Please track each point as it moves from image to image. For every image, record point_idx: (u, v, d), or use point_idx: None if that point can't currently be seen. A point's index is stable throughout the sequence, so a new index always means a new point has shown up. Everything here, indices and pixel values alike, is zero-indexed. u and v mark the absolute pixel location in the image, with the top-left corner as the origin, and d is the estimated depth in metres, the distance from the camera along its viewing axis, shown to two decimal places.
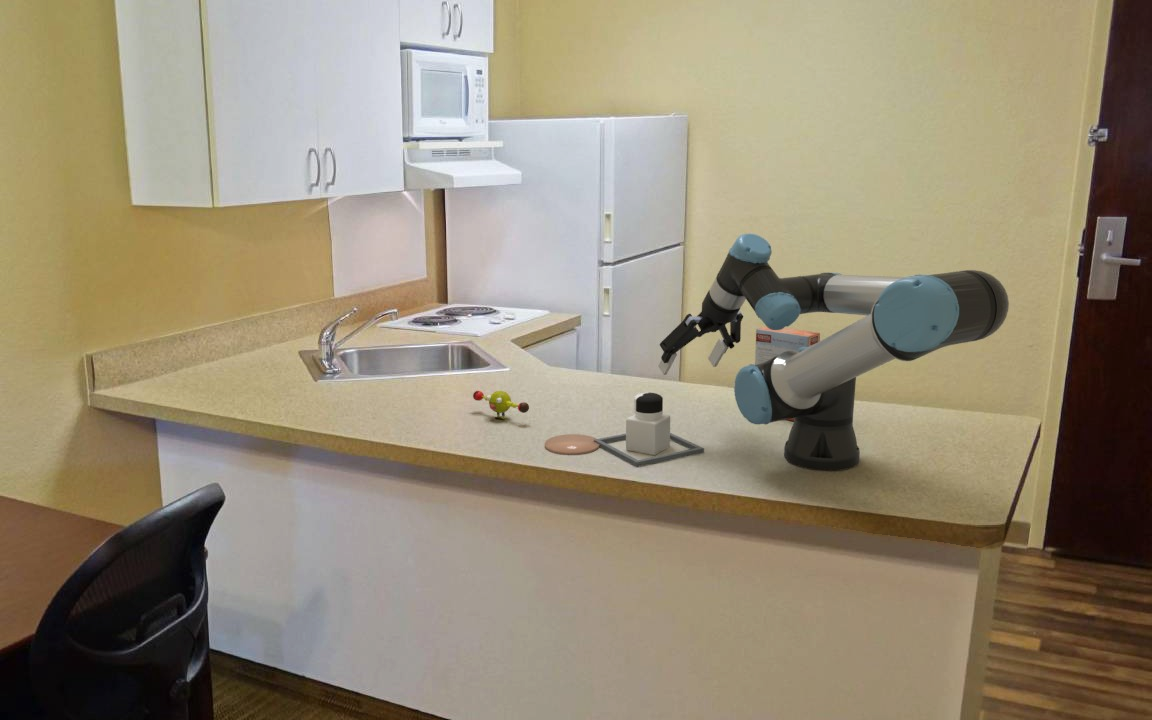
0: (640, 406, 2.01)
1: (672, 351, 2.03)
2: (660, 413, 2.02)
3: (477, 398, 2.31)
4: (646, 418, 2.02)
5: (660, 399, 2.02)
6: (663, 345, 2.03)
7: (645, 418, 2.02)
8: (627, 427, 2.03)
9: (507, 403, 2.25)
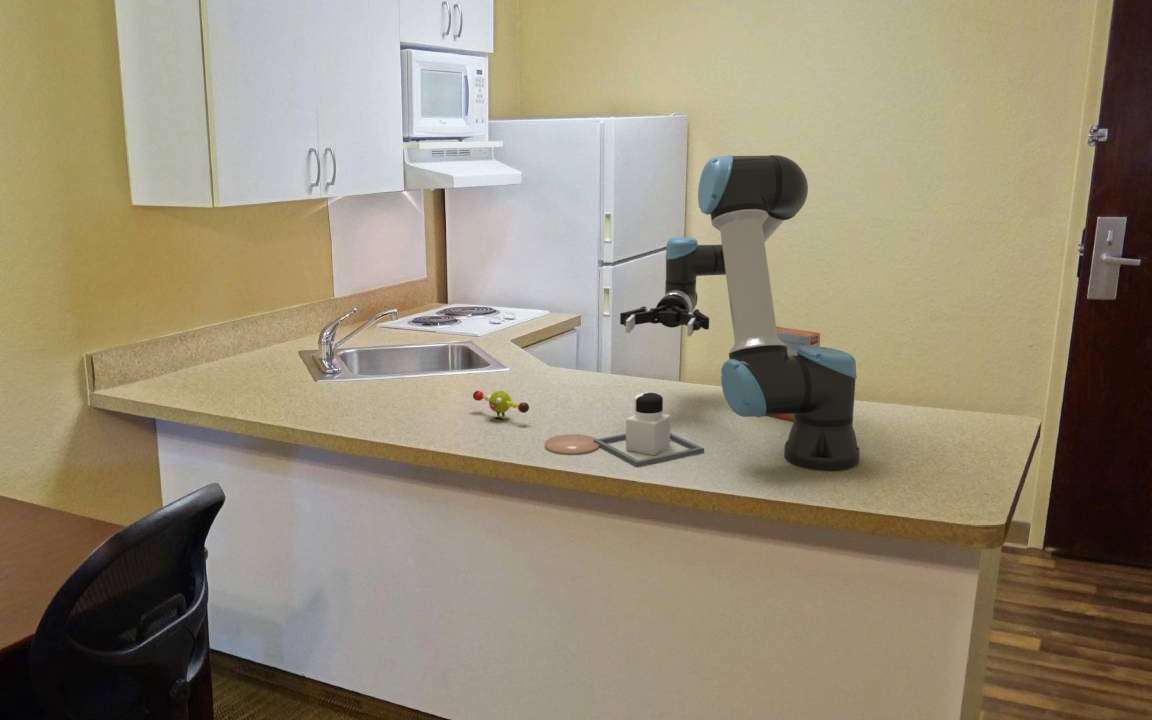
0: (640, 406, 2.01)
1: None
2: (660, 413, 2.02)
3: (477, 398, 2.31)
4: (646, 418, 2.02)
5: (660, 399, 2.02)
6: None
7: (645, 418, 2.02)
8: (627, 427, 2.03)
9: (507, 403, 2.25)
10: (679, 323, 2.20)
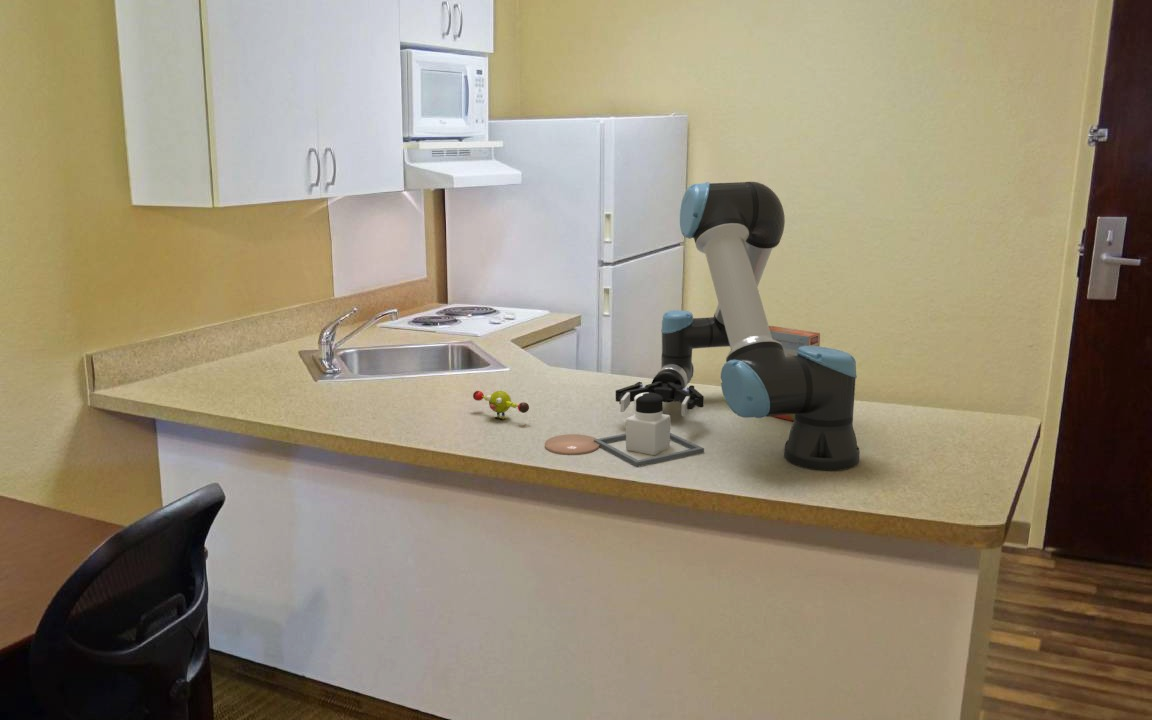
0: (640, 406, 2.01)
1: None
2: (660, 413, 2.02)
3: (477, 398, 2.31)
4: (646, 418, 2.02)
5: (660, 399, 2.02)
6: None
7: (645, 418, 2.02)
8: (627, 427, 2.03)
9: (507, 403, 2.25)
10: (674, 400, 2.21)
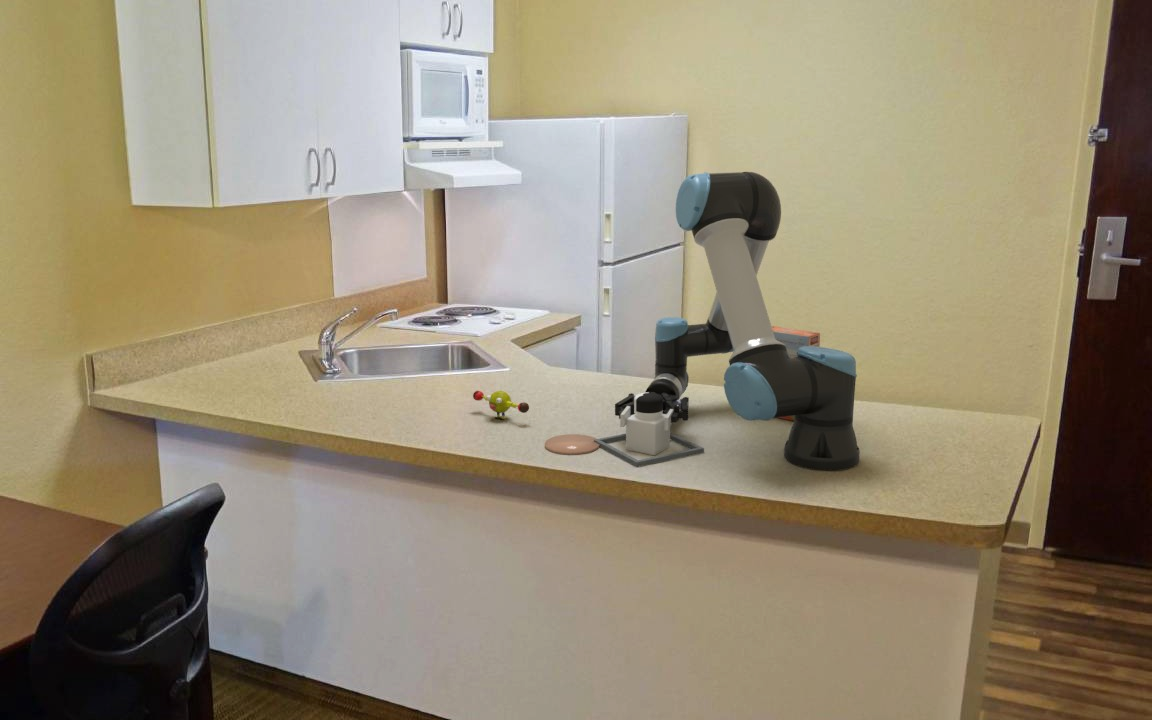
0: (640, 406, 2.01)
1: (623, 405, 2.08)
2: (660, 413, 2.02)
3: (477, 398, 2.31)
4: (646, 418, 2.02)
5: (660, 399, 2.02)
6: None
7: (645, 418, 2.02)
8: (627, 427, 2.03)
9: (507, 403, 2.25)
10: (665, 411, 2.12)
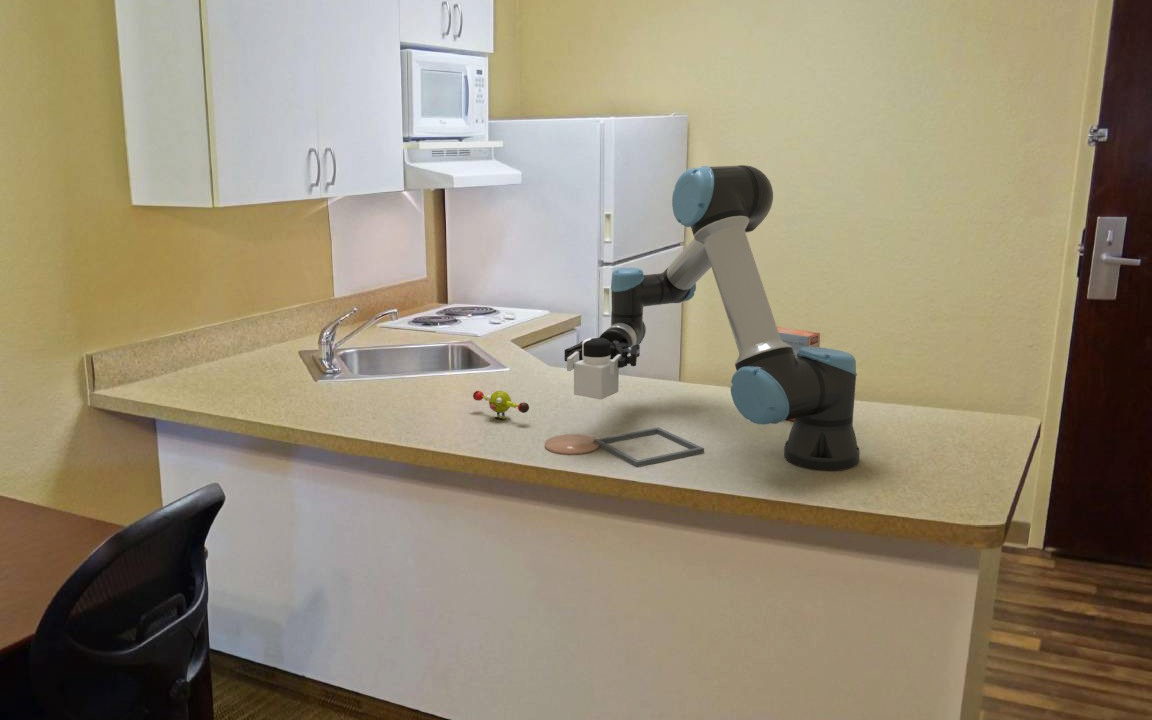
0: (587, 350, 2.02)
1: None
2: (607, 357, 2.03)
3: (477, 398, 2.31)
4: (593, 362, 2.02)
5: (607, 343, 2.02)
6: None
7: (592, 362, 2.02)
8: (575, 371, 2.04)
9: (507, 403, 2.25)
10: None
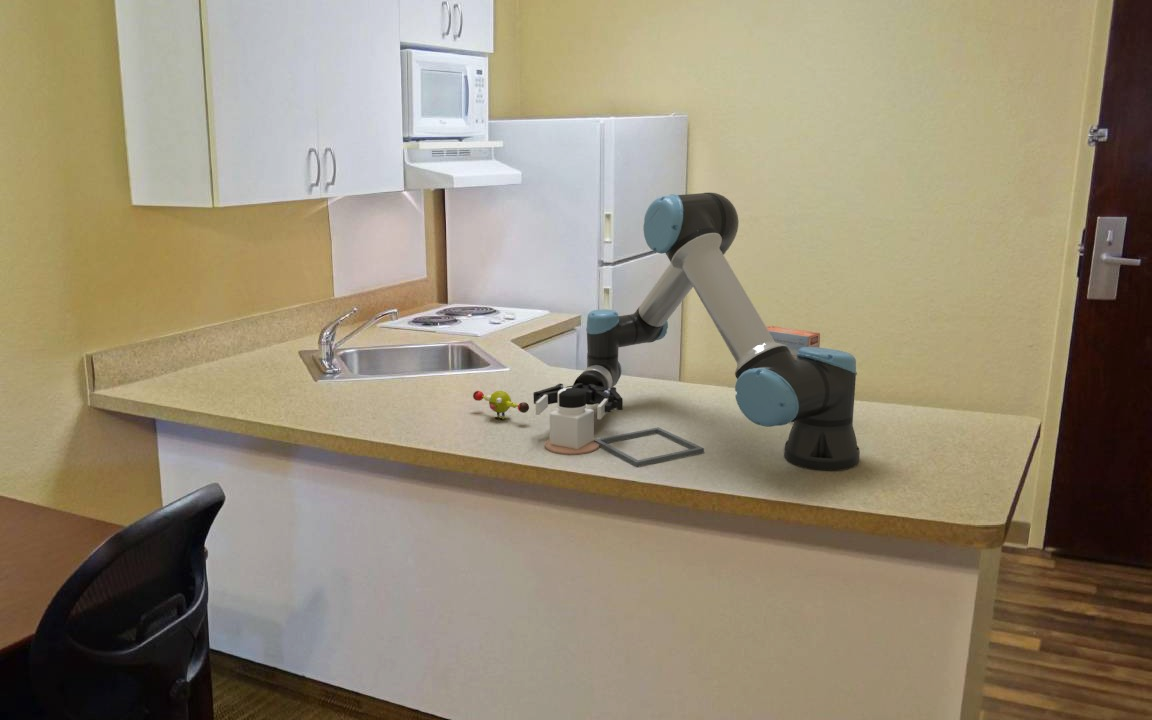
0: (562, 401, 2.03)
1: None
2: (583, 407, 2.04)
3: (477, 398, 2.31)
4: (569, 412, 2.04)
5: (583, 394, 2.04)
6: None
7: (568, 412, 2.04)
8: (551, 422, 2.05)
9: (507, 403, 2.25)
10: (594, 402, 2.14)
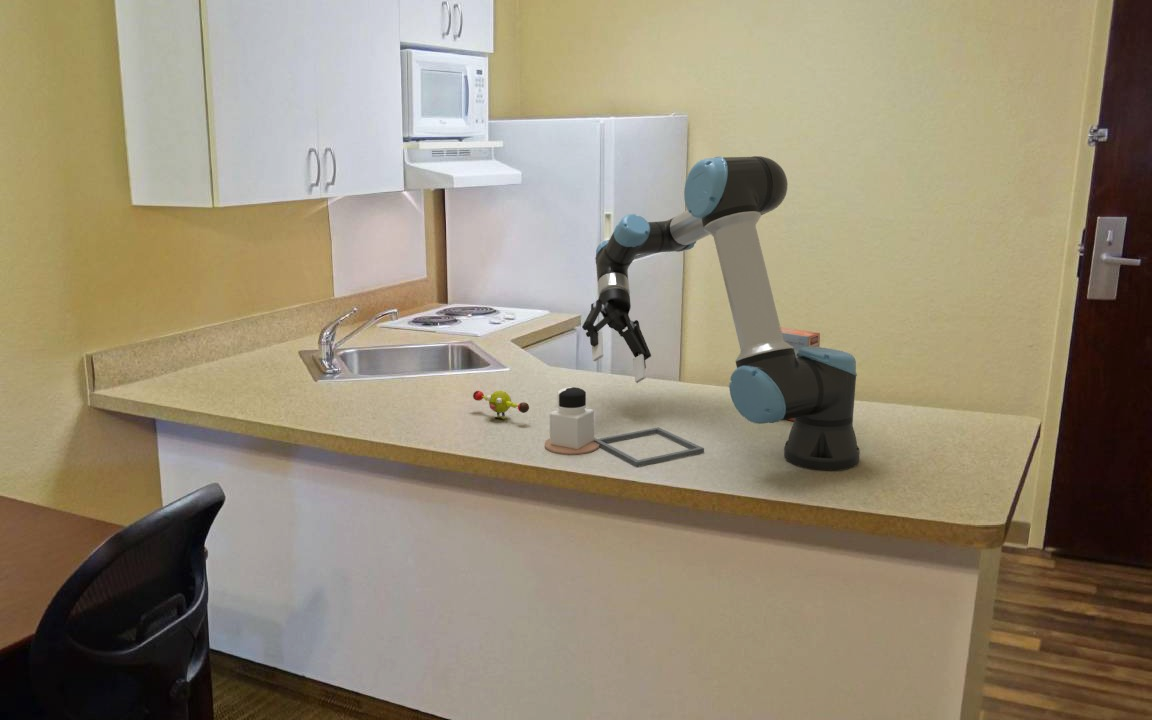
0: (562, 401, 2.03)
1: (596, 326, 2.17)
2: (583, 407, 2.04)
3: (477, 398, 2.31)
4: (569, 412, 2.04)
5: (583, 394, 2.04)
6: (585, 323, 2.17)
7: (568, 412, 2.04)
8: (551, 422, 2.05)
9: (507, 403, 2.25)
10: (620, 334, 2.27)
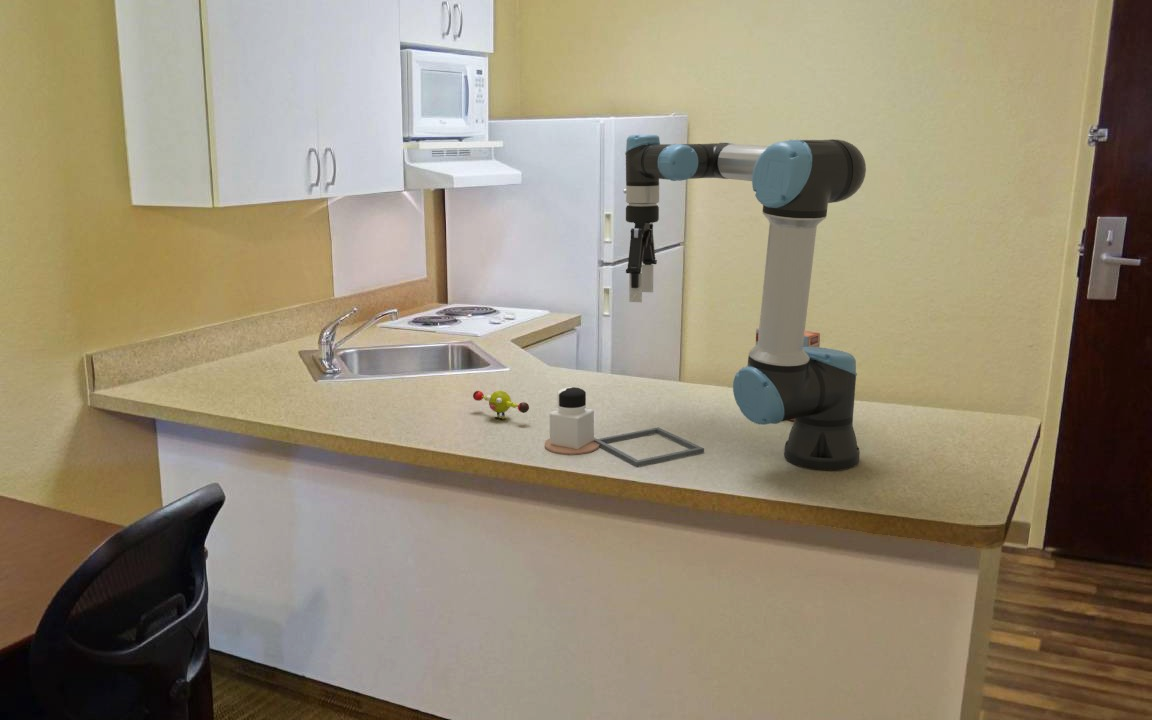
0: (562, 401, 2.03)
1: (639, 269, 2.13)
2: (583, 407, 2.04)
3: (477, 398, 2.31)
4: (569, 412, 2.04)
5: (583, 394, 2.04)
6: (631, 267, 2.11)
7: (568, 412, 2.04)
8: (551, 422, 2.05)
9: (507, 403, 2.25)
10: None
